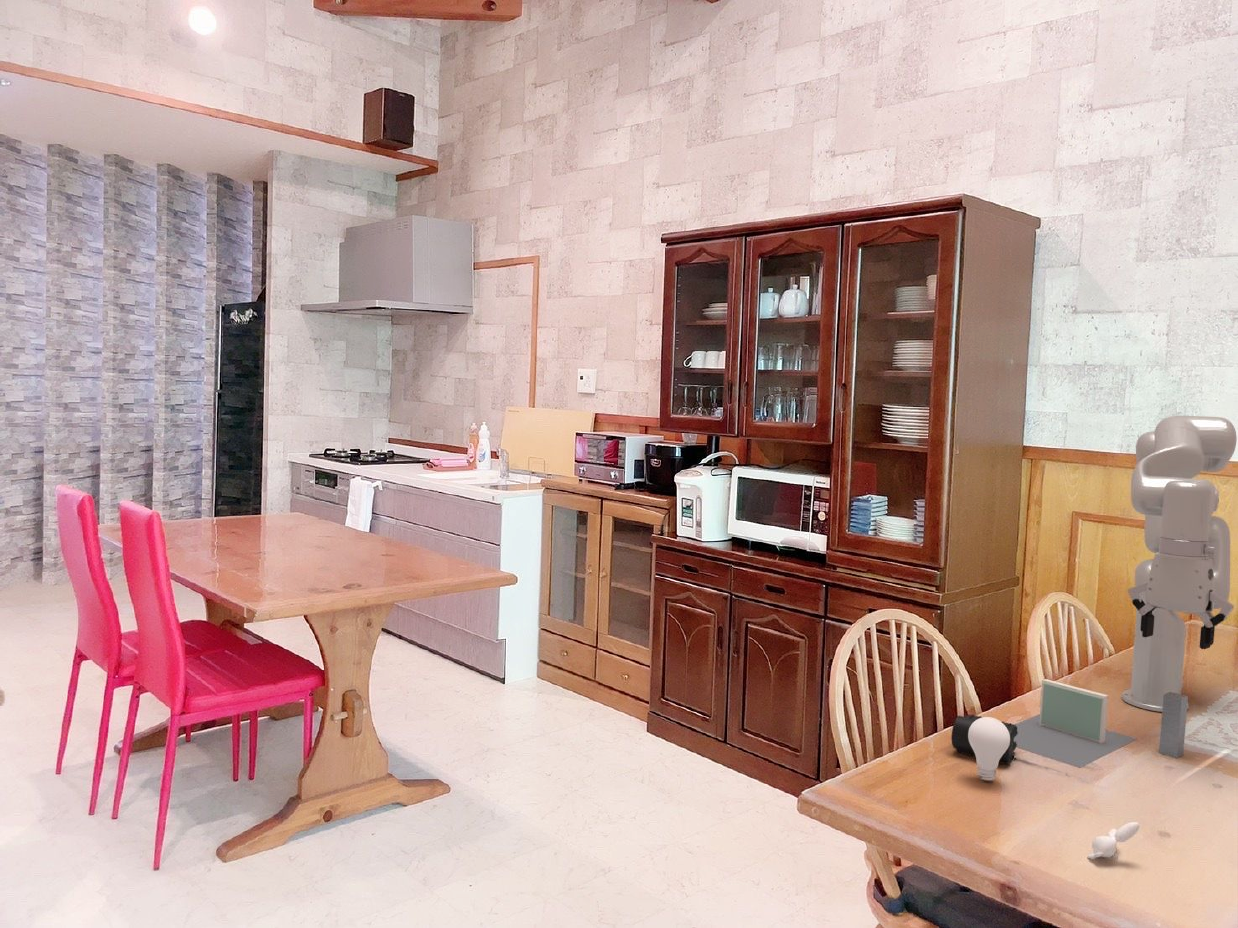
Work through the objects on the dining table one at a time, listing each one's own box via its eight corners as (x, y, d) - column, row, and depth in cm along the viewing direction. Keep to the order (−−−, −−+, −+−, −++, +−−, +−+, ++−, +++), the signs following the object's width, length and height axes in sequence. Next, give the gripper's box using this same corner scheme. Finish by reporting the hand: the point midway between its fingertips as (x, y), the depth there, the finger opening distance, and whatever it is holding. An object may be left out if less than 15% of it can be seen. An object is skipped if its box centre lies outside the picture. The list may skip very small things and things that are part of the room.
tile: (1042, 723, 188) (1045, 678, 187) (1104, 741, 179) (1108, 695, 178) (1038, 724, 187) (1041, 680, 186) (1100, 743, 178) (1104, 696, 177)
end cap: (949, 755, 172) (952, 719, 172) (962, 744, 178) (964, 709, 177) (1007, 770, 166) (1009, 733, 166) (1018, 758, 172) (1020, 722, 171)
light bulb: (987, 792, 157) (992, 727, 156) (956, 776, 162) (960, 714, 162) (1015, 785, 160) (1020, 721, 159) (984, 770, 166) (988, 709, 165)
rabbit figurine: (1072, 850, 137) (1109, 819, 140) (1091, 875, 136) (1128, 843, 138) (1094, 846, 132) (1132, 814, 134) (1115, 872, 131) (1152, 838, 133)
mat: (1044, 716, 195) (1045, 712, 195) (1137, 743, 181) (1137, 738, 181) (983, 741, 180) (983, 736, 179) (1079, 773, 166) (1079, 767, 166)
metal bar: (1165, 754, 176) (1170, 691, 175) (1182, 760, 174) (1187, 696, 173) (1158, 758, 174) (1163, 694, 173) (1176, 763, 172) (1181, 699, 171)
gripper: (1244, 554, 167) (1236, 650, 168) (1141, 541, 181) (1134, 630, 182) (1229, 557, 163) (1221, 655, 163) (1124, 543, 176) (1117, 634, 177)
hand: (1175, 642), depth 173 cm, fingers open, 9 cm apart
